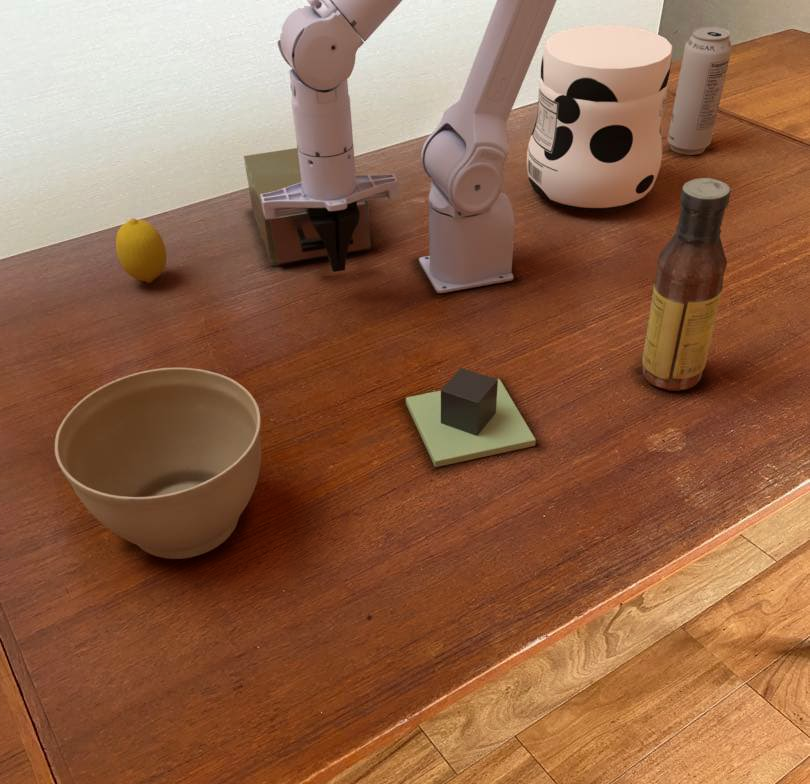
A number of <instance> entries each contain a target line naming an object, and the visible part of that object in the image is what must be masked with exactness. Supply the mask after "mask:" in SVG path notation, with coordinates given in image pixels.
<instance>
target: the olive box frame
mask: <svg viewBox="0 0 810 784" xmlns="http://www.w3.org/2000/svg"><path fill="white" fill-rule="evenodd" d="M243 160H244V166H245V167H244V168H245V172H246V173H245V174H246V180H247V185H248V190H249V196H250V203H251V208H252V214H253V217H254V219H255V222H256V225H257V228H258V231H259V234H260V236H261V239H262V242H263V245H264V247H265V251H266V254H267V256H268V259H269V263H270V265H271V267H278V266H284V265H290V264H296V263H300V262H301V263H302V262H306V261H312V260H319V259H324V258H325V259H326V258H328V255H327V256H321V257H315V258H309V259H303V260H297V261H292V262H286V263H280V264H277V261H276V257H275V251H274V244H273V238H272V231H271V225H270V219H267V220H266V219H265V216H264V213H263V209H262V203H261V197H260V194H264V193H269V192H273V191H276V190H280V189H283V188H285V187H288V186H291V185H294V184H297V183H300V182H301V173H300V165H299V157H298V149H297V147H296V148H288V149H280V150H275V151H274V150H273V151H267V152H261V153H255V154H247V155H243ZM355 173H356V175H359V173H358V171H357V169H356V168H355ZM364 202H365V203H366V218H367V233H368V249H362V250H356V251H350V252H347V255H348V254H354V253H358V252H359V253H360V252H365V251H370V250H372V244H371V243H372V240H371V239H372V238H371V225H370V224H371V223H370V209H369V208H370V207H369V200H367V201H364Z"/></svg>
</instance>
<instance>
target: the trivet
mask: <svg viewBox="0 0 810 784" xmlns="http://www.w3.org/2000/svg"><path fill="white" fill-rule="evenodd" d="M496 379H497V380H498V387H497V403H496V413H495V414H494V416H493V417H492V418H491V419H490V421H489V422H488V423H487V424H486V426H485V427H484V428H483V429H482V431H481V432H480V433H479V434H478V436H476V435H473V434H470V433H467V432H464V431H462V430H459V429H456V428H453V427H450V426H447V425H445V424H442V423H441V390H437V391H432V392H431V391H430V392H427V393H426V392H425V393H421V394H417V395H411V396H406V397H405V405H406V407H407V409H408V412H409V413H410V416H411V419H412V420H413V423H414V425H415V426H416V428H417V431H418V433H419V435H420V438H421V439H422V442H423V444H424V446H425V448H426V451H427V453H428V456H429V457H430V459H431V461H432V463H433V466H434V467H435V468H440V467H444V466H448V465H453V464H458V463H463V462H466V461H471V460H475V459H476V460H477V459H480V458H484V457H489V456H495V455H499V454H503V453H508V452H513V451H518V450H522V449H526V448H531V447H535V446H536V442H537V439H536V438H535V436H534V434H533V432H532V430H531V429H530V427H529V426H528V424H527V422H526V421H525V419H524V418H523V415H522V414H521V412H520V411H519V409H518V407H517V405H516V404H515V402H514V401H513V399H512V397H511V396H510V394H509V393H508V390H507V389H506V387H505V385H504V383H503V382H502V381H501V378H496Z"/></svg>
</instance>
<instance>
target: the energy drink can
mask: <svg viewBox="0 0 810 784" xmlns="http://www.w3.org/2000/svg"><path fill="white" fill-rule="evenodd" d="M691 32H692V33H691V34H692V35H691V36H690V37H689V39H688V40H687V41H686V43H685V45H684V50H683V56H682V61H681V65H680V71H679V76H678V82H677V87H676V91H675V92H676V93H675V96H674V102H673V108H672V113H671V118H670V124H669V130H668V134H667V142H668V144H670V145H669V148H670V149H671V150H672V152H675V153H677V154H680V155H685V156H693V155H699V154H702V153H703V152H705V150H706V148H707V147H709V146H710V145H711V142H712V137H713V133H714V129H715V124H716V120H717V115H718V112H719V106H720V102H721V99H722V98H721V97H722V94H723V89H724V85H725V80H726V75H727V72H728V67H729V63H730V58H731V55H732V49H733V46H732V43H731V40H730V37H731V31H729V30H728V29H726V28H722V27H718V26H699V27H697V28H694V29H693V30H692V31H691Z"/></svg>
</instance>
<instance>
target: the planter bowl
mask: <svg viewBox="0 0 810 784" xmlns="http://www.w3.org/2000/svg"><path fill="white" fill-rule="evenodd" d="M55 434H56V435H55V439H54V455H55V459H56V461H57V464H58V466H59V469H60V470H61V472H62V473H63V475H64V477H65V478H66V480H67V481H68V482H69V483H70V485H71V487H72V489H73V491H74V492H75V494H76V496H77V497H78V499H79V500H80V502H81V504H83V505H84V507H85V508H86V510H88V512H89V513H90V514H91V515H92V516H93V517H94V518H95V519H96V520H97V521H98V522H99V523H101V524H102V525H103V526H104V527H105V528H106V529H108V530H109V531H111V532H112V533H114V534H115V535H117V536H119V537H120V538H122V539H124V540H125V541H128V542H129V543H132V544H134V545H137V546H138V547H139V548H140V549H141V550H143V551H144V552H145V553H147V554H149V555H152V556H155V557H156V558H162V559H168V560H181V559H190V558H194V557H197V556H200V555H203V554H206V553H208V552H210V551H213V550H214V549H216V548H217V547H219V546H220V545H222V544H223V543H224V542H225V541H227V539H228V538H229V537H230V536H231V534H233V532H234V531H235V529H236V528H237V525H238V522H239V519H240V516H241V515H242V513H243V512H244V510H245V509H246V507H247V505H248V504H249V502H250V500H251V498H252V496H253V494H254V491H255V488H256V486H257V483H258V479H259V477H260V470H261V469H260V468H261V465H262V439H261V434H262V417H261V411H260V408H259V405H258V403H257V401H256V399H255V398H254V396H253V395H252V393H250V391H249V390H247V389H246V388H245V387H244V386H243V385H242V384H240V383H239V382H237V381H236V380H235V379H232V378H231V377H228V376H226V375H223V374H220V373H218V372H213V371H211V370H205V369H199V368H192V367H160V368H155V369H154V368H153V369H149V370H143V371H139V372H134V373H131V374H129V375H125V376H123V377H120V378H117V379H115V380H113V381H109V382H108V383H106V384H104V385H102V386H100V387H98V388H96V389H95V390H93V391H91V392H90V393H89V394H87V395H86V396H85V397H83V398H82V399H81V400H80V401H79V402H77V404H75V406H73V407H72V409H71V410H70V411H69V412H68V413H67V414H66V415H65V417H64V418H63V420H62V422H61V423H60V424H59V427H58V429H57V432H56V433H55Z"/></svg>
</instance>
